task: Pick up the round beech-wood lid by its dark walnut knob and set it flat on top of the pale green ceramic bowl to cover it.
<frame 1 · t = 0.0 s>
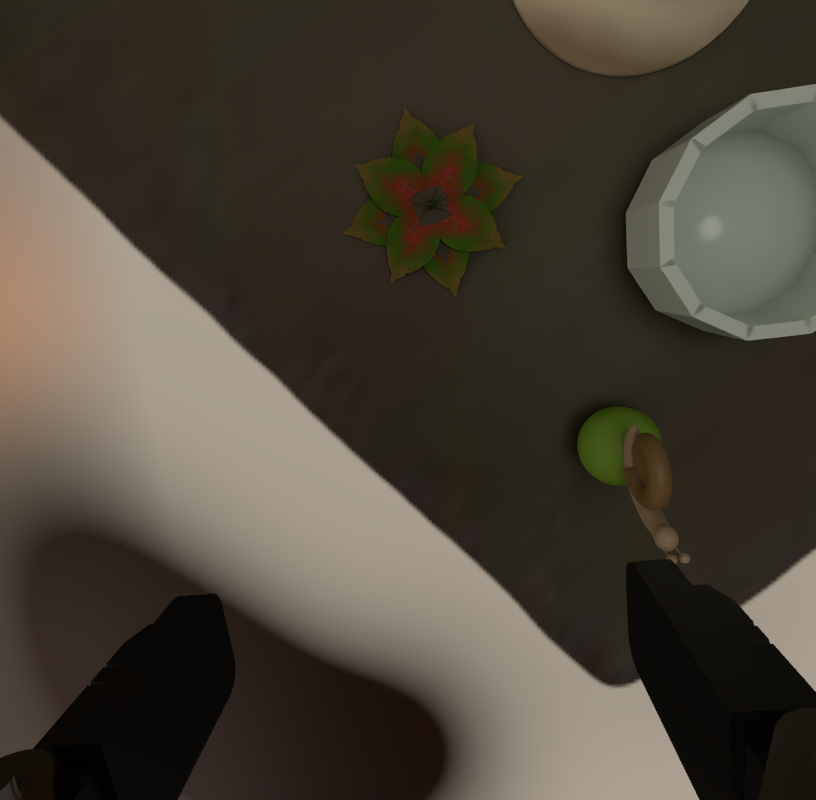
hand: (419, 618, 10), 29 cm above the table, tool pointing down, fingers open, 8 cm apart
snail figurine: (606, 439, 40), on the table
lily flower: (431, 207, 37), on the table
bowl: (722, 228, 36), on the table
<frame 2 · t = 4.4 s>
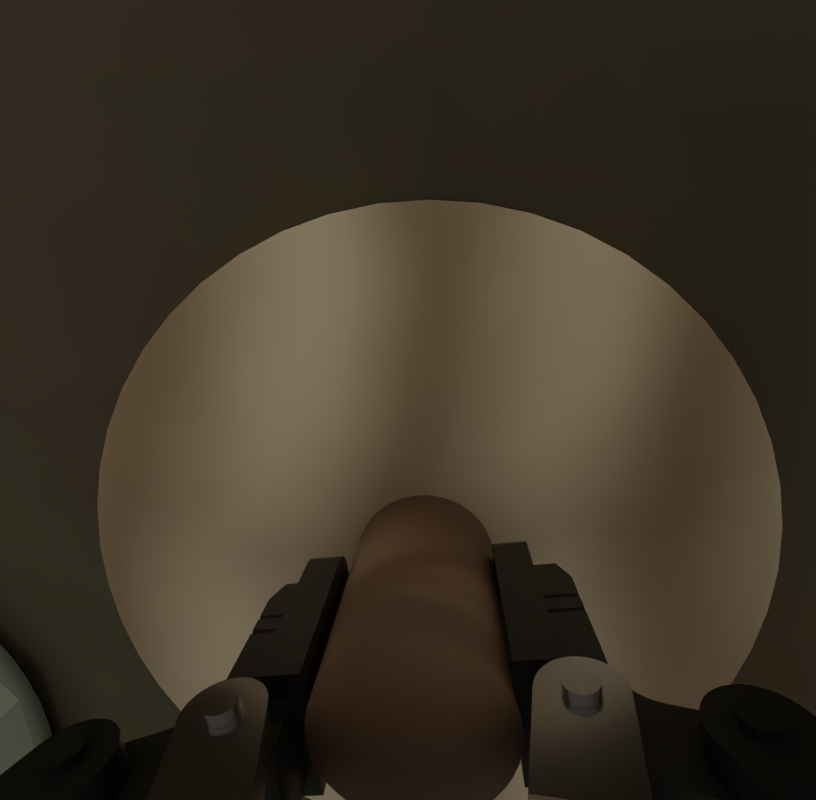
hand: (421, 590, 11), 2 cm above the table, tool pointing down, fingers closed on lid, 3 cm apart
lid: (426, 537, 14), on the table, touching gripper
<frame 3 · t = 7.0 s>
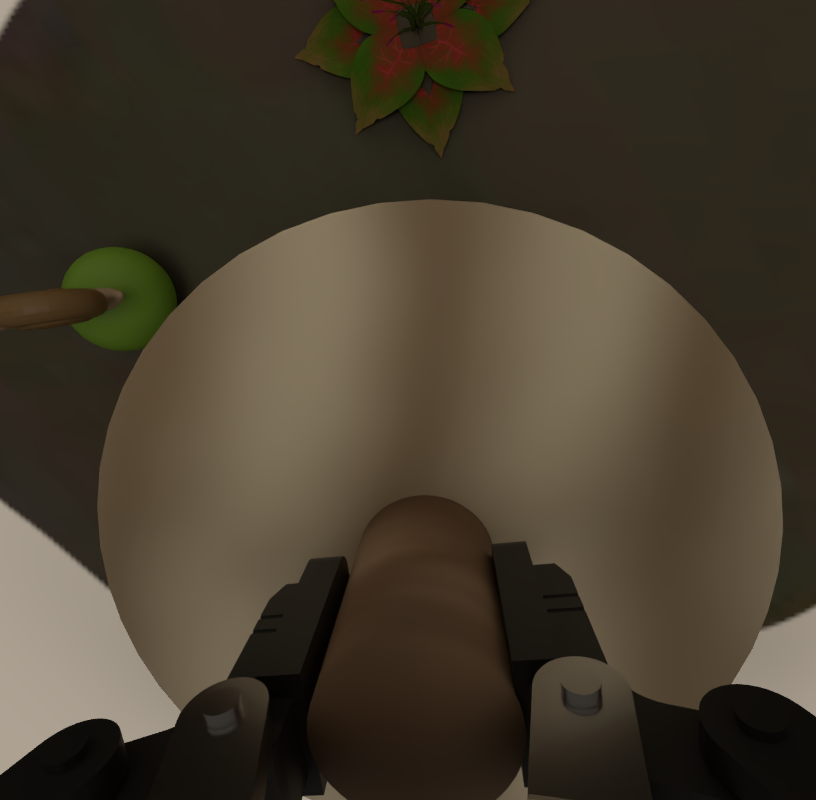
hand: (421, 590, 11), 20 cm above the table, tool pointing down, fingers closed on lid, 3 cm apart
lid: (427, 537, 14), point 18 cm above the table, touching gripper
snail figurine: (143, 298, 31), on the table
lily flower: (417, 30, 27), on the table
when the fingers open (10 cm above the table, at t = 9.7 s): lid drops 1 cm, resting on bowl.
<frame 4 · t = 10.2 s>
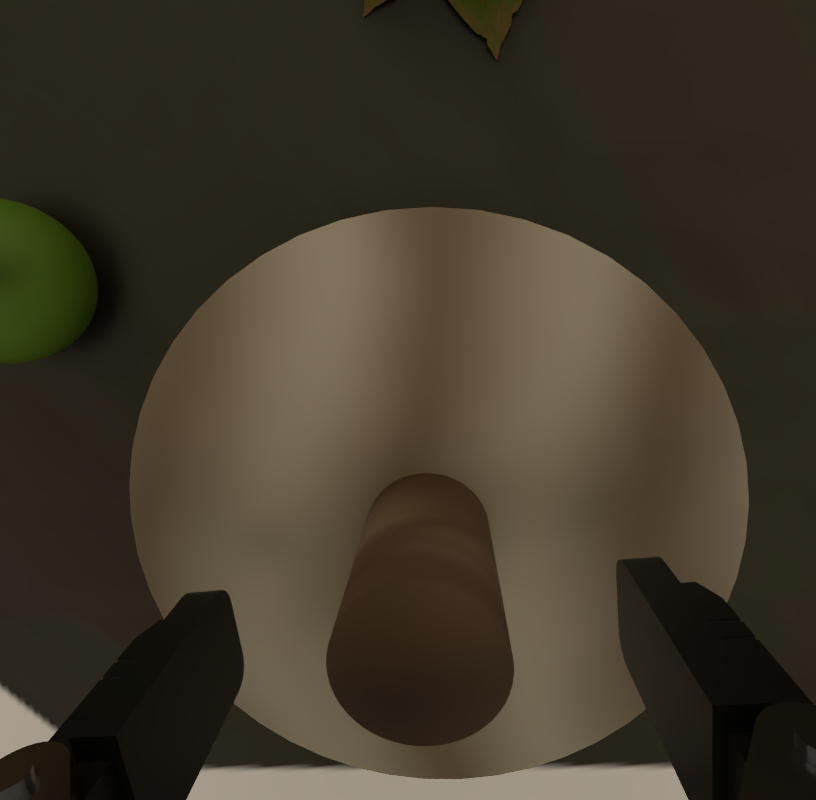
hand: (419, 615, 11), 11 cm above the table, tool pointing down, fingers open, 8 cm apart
lid: (428, 514, 15), point 6 cm above the table, touching bowl
snail figurine: (53, 283, 21), on the table
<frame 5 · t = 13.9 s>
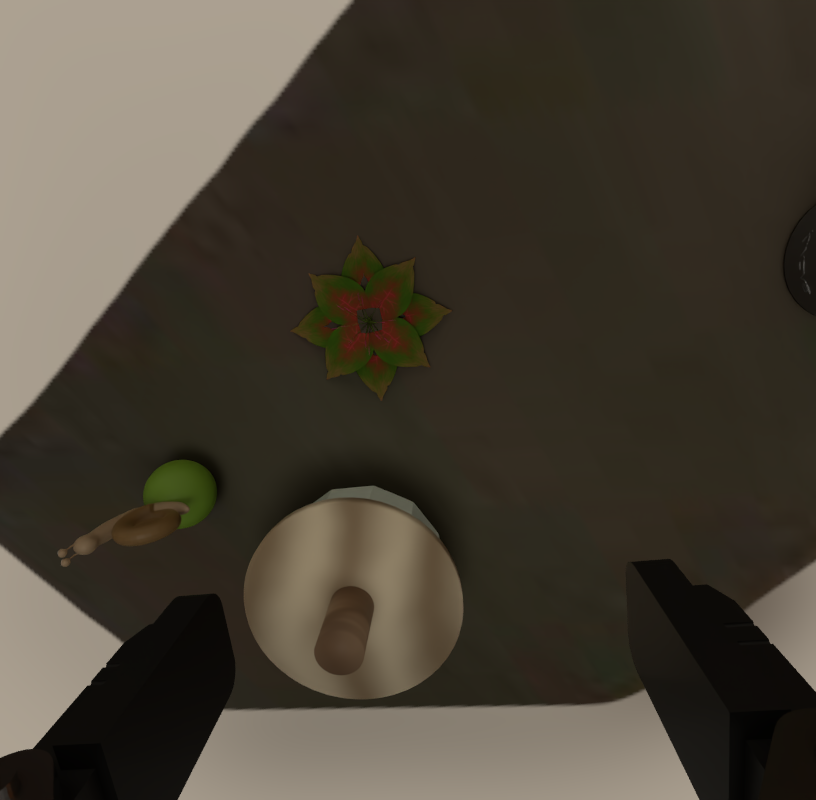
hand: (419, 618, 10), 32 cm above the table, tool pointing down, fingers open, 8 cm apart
lid: (354, 597, 40), point 6 cm above the table, touching bowl
snail figurine: (191, 480, 46), on the table
lily flower: (371, 320, 42), on the table
bowl: (366, 553, 46), on the table
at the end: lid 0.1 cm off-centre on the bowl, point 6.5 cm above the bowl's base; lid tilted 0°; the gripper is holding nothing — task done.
